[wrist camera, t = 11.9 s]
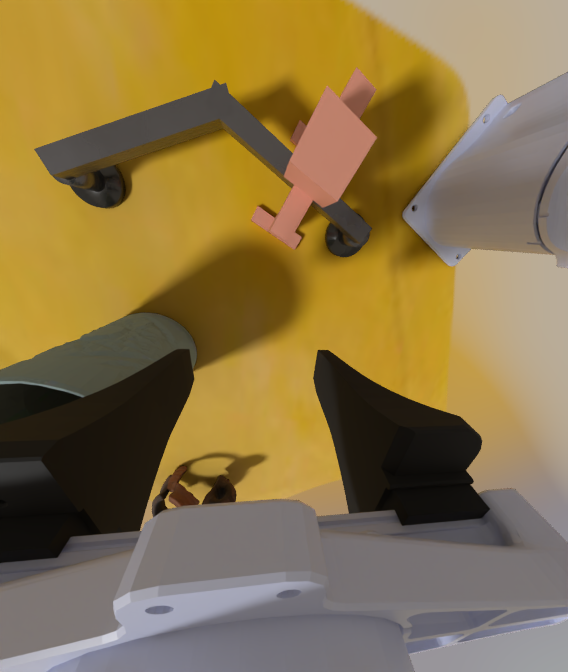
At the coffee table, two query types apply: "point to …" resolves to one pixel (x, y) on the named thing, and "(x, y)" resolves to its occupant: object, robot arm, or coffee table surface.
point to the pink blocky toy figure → (323, 157)
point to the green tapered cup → (89, 364)
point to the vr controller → (182, 497)
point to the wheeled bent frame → (172, 128)
